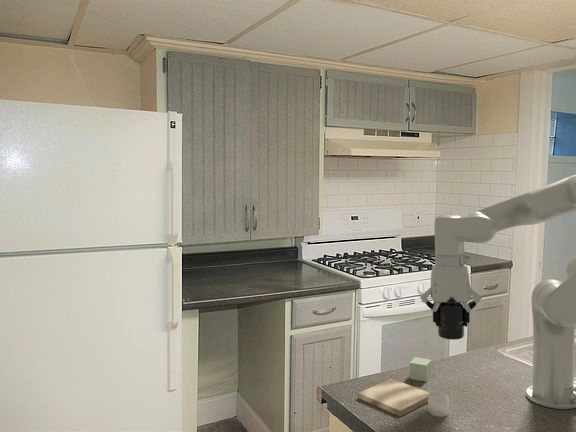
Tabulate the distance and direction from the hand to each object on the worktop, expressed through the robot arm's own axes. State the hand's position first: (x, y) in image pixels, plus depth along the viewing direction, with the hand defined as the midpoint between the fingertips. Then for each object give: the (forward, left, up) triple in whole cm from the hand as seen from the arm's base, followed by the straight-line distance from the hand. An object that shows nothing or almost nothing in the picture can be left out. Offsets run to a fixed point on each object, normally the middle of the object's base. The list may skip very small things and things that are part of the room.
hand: (451, 324), depth 134 cm
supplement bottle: (0, 0, -4) cm, 4 cm away
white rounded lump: (-5, +13, -19) cm, 23 cm away
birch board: (+7, +15, -19) cm, 25 cm away
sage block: (+11, -2, -19) cm, 22 cm away
